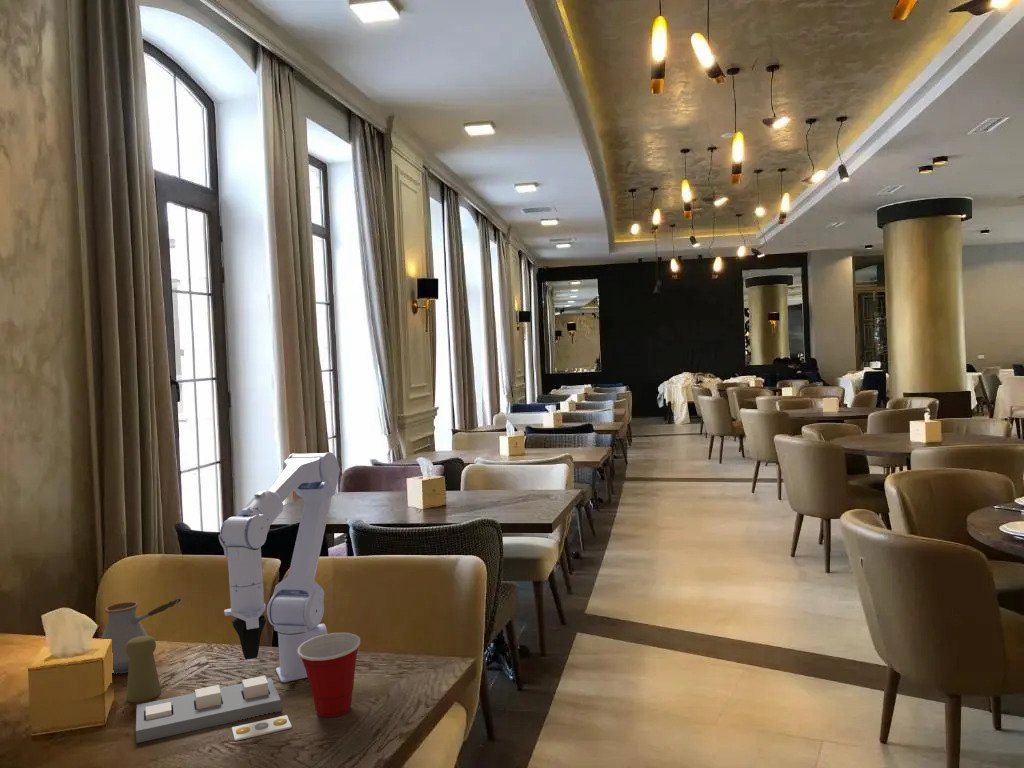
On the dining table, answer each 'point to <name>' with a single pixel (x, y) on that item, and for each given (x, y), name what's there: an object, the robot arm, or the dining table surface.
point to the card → (261, 727)
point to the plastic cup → (330, 671)
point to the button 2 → (255, 687)
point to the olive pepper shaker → (142, 670)
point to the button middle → (208, 697)
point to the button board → (204, 712)
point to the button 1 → (158, 711)
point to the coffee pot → (126, 629)
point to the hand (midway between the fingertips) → (251, 657)
